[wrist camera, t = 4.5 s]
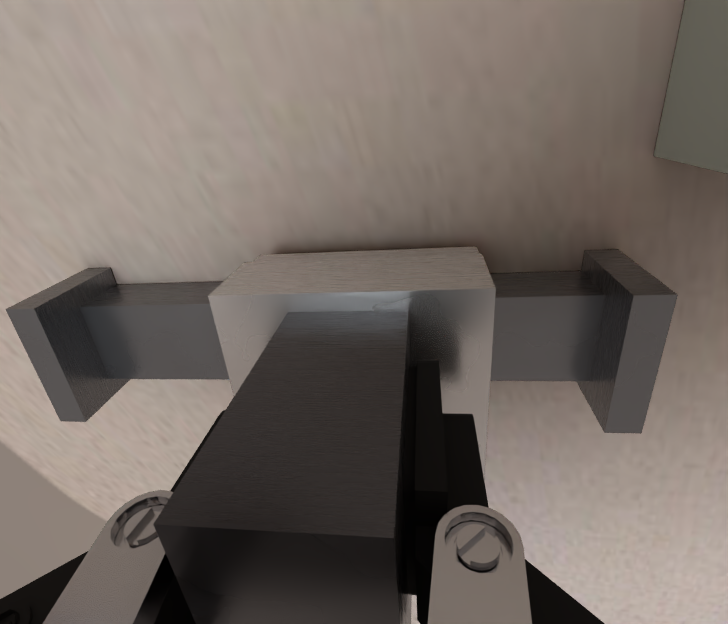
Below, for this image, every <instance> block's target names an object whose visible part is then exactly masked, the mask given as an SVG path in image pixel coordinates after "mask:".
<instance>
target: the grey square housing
mask: <svg viewBox="0 0 728 624" xmlns="http://www.w3.org/2000/svg"><path fill="white" fill-rule="evenodd" d="M654 156H655V157H659V158H663V159H668V160H672V161H676V162H680V163H684V164H689V165H693V166H697V167H701V168H705V169H710V170H714V171H718V172H722V173H726V174H728V0H685V4H684V9H683V14H682V19H681V24H680V29H679V33H678V38H677V43H676V48H675V53H674V58H673V63H672V68H671V73H670V78H669V83H668V87H667V92H666V97H665V102H664V107H663V112H662V117H661V122H660V127H659V132H658V137H657V141H656V146H655V151H654Z"/></svg>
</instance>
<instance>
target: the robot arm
mask: <svg viewBox="0 0 728 624" xmlns="http://www.w3.org/2000/svg"><path fill="white" fill-rule="evenodd" d="M224 412H225V410H224V411H222V412H221V414H220V415H219V416H218V418H217V419H216V421H215V422H214V424H213V425H212V427H211V429H210V430H209V432H208V433H207V435H206V436H205V438H204V439H203V441H202V443H201V444H200V446H199V447H198V449H197V450H196V452H195V453H194V455H193V457H192V458H191V460H190V461H189V463H188V464H187V466H186V467H185V469H184V470H183V472H182V474H181V475H180V477H179V478H178V480H177V481H176V483H175V484H174V486H173V488H172V489H171V491H165V490H158V491H152V492H148V493H145V494H142V495H140V496H137V497H135V498H134V499H132V500H130V501H129V502H127V503H125V504H124V505H123V506H122V507H121V508H119V509H118V510H117V511H116V512H115V513H114V514H113V515H112V517H111V518H110V519H109V520H108V522H107V523H106V524H105V526H104V528H103V529H102V531H101V532H100V534H99V536H98V537H97V539H96V540H95V542H94V543H93V545H92V547H91V548H90V550H89V551H87V552H86V553H84V554H82V555H80V556H78V557H77V558H75V559H73V560H71V561H69V562H67V563H65V564H64V565H62V566H60V567H58V568H57V569H55V570H53V571H51V572H49V573H47V574H45V575H44V576H42V577H40V578H38V579H36V580H35V581H33V582H31V583H29V584H27V585H26V586H24V587H22V588H20V589H18V590H16V591H15V592H13V593H11V594H9V595H7V596H6V597H4V598H2V599H0V624H196V623H195V621H194V618H193V616H192V614H191V611H190V609H189V607H188V604H187V602H186V600H185V597H184V595H183V593H182V590H181V588H180V586H179V583H178V581H177V579H176V576H175V574H174V572H173V569H172V567H171V565H170V562H169V560H168V558H167V555H166V553H165V551H164V548H163V546H162V544H161V541H160V539H159V537H158V534H157V532H156V530H155V527H154V525H153V524H154V522H155V521H156V519H157V518H158V516H159V514H160V513H161V511H162V510H163V508H164V507H165V505H166V503H167V502H168V500H169V499H170V497H171V495H172V494H173V492H174V491H175V489H176V488H177V486H178V484H179V483H180V481H181V480H182V478H183V477H184V475H185V473H186V472H187V470H188V469H189V467H190V466H191V464H192V462H193V461H194V459H195V458H196V456H197V454H198V453H199V451H200V450H201V448H202V447H203V445H204V443H205V442H206V440H207V439H208V437H209V436H210V434H211V432H212V431H213V429H214V428H215V426H216V425H217V423H218V421H219V420H220V418H221V417H222V415H223V413H224ZM403 501H404V519H405V538H406V556H407V574H408V592H409V594H410V595H417V619H418V621H419V622H420V624H604V623H603V622H602V621H601V620H599V619H598V618H597V617H596V616H594V615H593V614H592V613H591V612H590V611H588V610H587V609H586V608H585V607H583V606H582V605H581V604H580V603H578V602H577V601H576V600H575V599H574V598H572V597H571V596H570V595H569V594H567V593H566V592H565V591H564V590H562V589H561V588H560V587H559V586H557V585H556V584H555V583H554V582H553V581H551V580H550V579H549V578H548V577H546V576H545V575H544V574H543V573H541V572H540V571H539V570H538V569H537V568H535V567H534V566H533V565H532V564H530V563H529V562H528V561H527V560H525V557H524V548H523V544H522V540H521V537H520V534H519V533H518V531H517V530H516V528H515V527H514V525H513V524H512V523H511V522H510V521H509V520H508V519H507V518H506V517H505V516H503V515H502V514H500V513H498V512H497V511H495V510H493V509H491V508H489V507H488V501H487V495H486V489H485V483H484V477H483V471H482V465H481V459H480V452H479V446H478V440H477V434H476V428H475V422H474V417H473V414H453V413H442V399H441V384H440V369H439V360H417V366H409V373H408V393H407V414H406V434H405V455H404V476H403Z"/></svg>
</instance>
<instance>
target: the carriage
mask: <svg viewBox="0 0 728 624" xmlns="http://www.w3.org/2000/svg"><path fill="white" fill-rule="evenodd" d="M495 294H496V288H495V285H494V283H493V280H492V278H491V275H490V273H489V270H488V268H487V265H486V262H485V260H484V257H483V255H482V254H479V252H478V249H477V247H476V246H475V247H450V248H424V249H398V250H373V251H347V252H321V253H295V254H270V255H260V256H259V257H258V258H256V259H255V260H254V261H253V262H244V263H243V264H242V265H241V266H240V267H239V268H238V269H237V270H236V271H235V272H233V273H232V274H231V275H230V276H229V277H228V278H227V279H226V280H225V281H224V282H223V283H221V284H220V285H219V286H218V287H217V288H216V289H215V290H214V291H213V292H212V293H210V294H209V295H208V298H209V302H210V306H211V310H212V313H213V317H214V321H215V325H216V329H217V333H218V337H219V340H220V344H221V348H222V352H223V356H224V360H225V364H226V367H227V371H228V375H229V379H230V383H231V387H232V390H233V394H234V398H233V399H232V401H231V402H230V404H229V406H228V407H227V409H226V410H225V412H224V413H223V415H222V417H221V418H220V420H219V421H218V423H217V425H216V426H215V428H214V429H213V431H212V432H211V434H210V436H209V437H208V439H207V440H206V442H205V443H204V445H203V447H202V448H201V450H200V451H199V453H198V454H197V456H196V458H195V459H194V461H193V462H192V464H191V466H190V467H189V469H188V470H187V472H186V473H185V475H184V477H183V478H182V480H181V481H180V483H179V484H178V486H177V488H176V489H175V491H174V492H173V494H172V495H171V497H170V499H169V500H168V502H167V503H166V505H165V507H164V508H163V510H162V511H161V513H160V514H159V516H158V518H157V519H156V521H155V522H154V524H153V525H154V527H155V530H156V532H157V534H158V537H159V539H160V541H161V544H162V546H163V548H164V551H165V553H166V555H167V558H168V560H169V562H170V565H171V567H172V569H173V572H174V574H175V576H176V579H177V581H178V583H179V586H180V588H181V590H182V593H183V595H184V597H185V600H186V602H187V604H188V607H189V609H190V611H191V614H192V616H193V618H194V621H195V623H196V624H411V596H412V595H410V594H409V592H408V574H407V556H406V538H405V519H404V501H403V476H404V455H405V434H406V414H407V393H408V373H409V366H417V360H439V369H440V384H441V399H442V413H453V414H473V417H474V422H475V428H476V434H477V440H478V446H479V452H480V459H481V465H482V471H483V477H484V478H485V461H486V445H487V428H488V411H489V394H490V377H491V361H492V344H493V327H494V310H495Z"/></svg>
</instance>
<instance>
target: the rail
mask: <svg viewBox="0 0 728 624" xmlns="http://www.w3.org/2000/svg"><path fill="white" fill-rule="evenodd" d="M490 275H491V278H492V280H493V283H494V285H495V288H496V294H495V310H494V327H493V344H492V361H491V377H490V381H576V382H577V383H578V385H579V387H580V389H581V391H582V393H583V394H584V396H585V398H586V400H587V402H588V403H589V405H590V407H591V409H592V411H593V413H594V414H595V416H596V418H597V420H598V422H599V423H600V425H601V427H602V429H603V431H604V432H605V433H642V429H643V425H644V421H645V418H646V414H647V410H648V406H649V402H650V399H651V395H652V391H653V387H654V383H655V379H656V376H657V372H658V368H659V364H660V360H661V356H662V353H663V349H664V345H665V341H666V337H667V334H668V330H669V326H670V322H671V318H672V314H673V311H674V307H675V303H676V299H677V294H676V293H675V292H673V291H672V290H671V289H669V288H668V287H667V286H666V285H664V284H663V283H662V282H660V281H659V280H658V279H656V278H655V277H654V276H652V275H651V274H650V273H648V272H647V271H646V270H644V269H643V268H642V267H640V266H639V265H638V264H636V263H635V262H634V261H633V260H631V259H630V258H629V257H627V256H626V255H625V254H623V253H622V252H621V251H619V250H618V249H614V250H587V251H585V252H584V258H583V265H582V271H560V272H527V273H493V274H490ZM221 283H223V282H192V283H159V284H126V285H116V282H115V279H114V277H113V274H112V271H111V268H91V269H85V270H83V271H81V272H79V273H77V274H75V275H73V276H71V277H69V278H67V279H65V280H63V281H61V282H59V283H57V284H55V285H53V286H51V287H49V288H47V289H45V290H43V291H41V292H39V293H37V294H35V295H33V296H31V297H29V298H27V299H25V300H23V301H21V302H19V303H17V304H15V305H13V306H11V307H9V308H7V309H6V311H7V313H8V315H9V317H10V319H11V321H12V323H13V325H14V327H15V329H16V332H17V334H18V336H19V338H20V340H21V342H22V344H23V346H24V348H25V350H26V352H27V354H28V356H29V358H30V360H31V362H32V364H33V366H34V368H35V370H36V372H37V374H38V376H39V378H40V380H41V382H42V384H43V386H44V388H45V390H46V393H47V395H48V397H49V399H50V401H51V403H52V405H53V407H54V409H55V411H56V413H57V415H58V417H59V419H60V421H75V422H86V421H87V420H88V419H89V418H90V417H91V416H92V415H94V414H95V413H96V412H97V411H98V410H99V409H100V408H101V407H102V406H103V405H104V404H105V403H106V402H107V401H108V400H109V399H110V398H111V397H112V396H113V395H114V394H115V393H117V392H118V391H119V390H120V389H121V388H122V387H123V386H124V385H125V384H126V383H127V382H128V381H129V380H130V379H229V375H228V371H227V367H226V364H225V360H224V356H223V352H222V348H221V344H220V340H219V337H218V333H217V329H216V325H215V321H214V317H213V313H212V310H211V306H210V302H209V298H208V295H209V294H210V293H212V292H213V291H214V290H215V289H216V288H217V287H218V286H219V285H220V284H221Z"/></svg>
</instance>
